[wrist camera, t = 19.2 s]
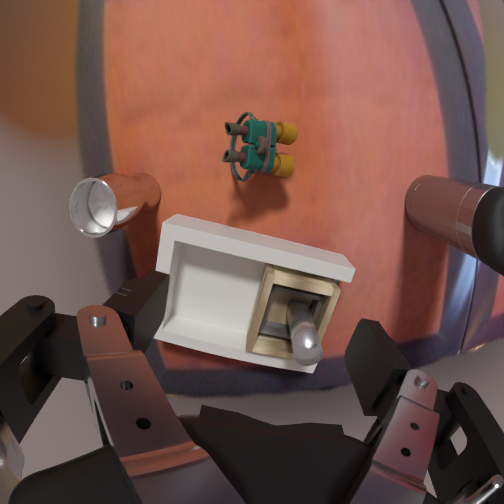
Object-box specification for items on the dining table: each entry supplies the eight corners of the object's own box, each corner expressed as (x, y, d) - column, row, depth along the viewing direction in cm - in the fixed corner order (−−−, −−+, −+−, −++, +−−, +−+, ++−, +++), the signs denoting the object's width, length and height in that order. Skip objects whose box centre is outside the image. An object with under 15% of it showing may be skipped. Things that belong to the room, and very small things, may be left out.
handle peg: (311, 300, 43) (326, 345, 32) (304, 319, 44) (317, 367, 33) (289, 295, 43) (299, 340, 32) (283, 315, 44) (290, 363, 33)
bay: (343, 254, 44) (355, 269, 38) (307, 350, 49) (312, 373, 43) (176, 213, 43) (162, 222, 37) (161, 316, 48) (148, 336, 42)
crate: (331, 274, 43) (340, 291, 37) (306, 340, 47) (311, 362, 41) (266, 259, 43) (267, 274, 37) (247, 328, 46) (245, 350, 40)
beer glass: (135, 162, 41) (81, 164, 26) (171, 184, 42) (129, 195, 27) (116, 201, 43) (60, 219, 28) (150, 223, 43) (104, 251, 29)
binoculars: (254, 180, 43) (297, 187, 35) (197, 178, 39) (230, 184, 31) (260, 119, 41) (304, 113, 33) (202, 111, 36) (237, 99, 28)
